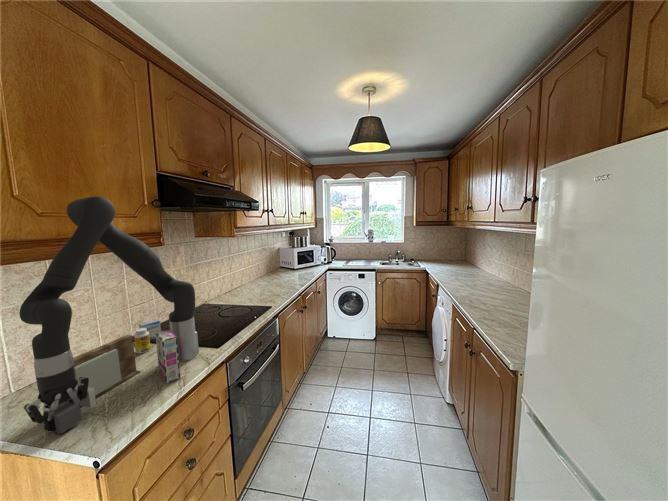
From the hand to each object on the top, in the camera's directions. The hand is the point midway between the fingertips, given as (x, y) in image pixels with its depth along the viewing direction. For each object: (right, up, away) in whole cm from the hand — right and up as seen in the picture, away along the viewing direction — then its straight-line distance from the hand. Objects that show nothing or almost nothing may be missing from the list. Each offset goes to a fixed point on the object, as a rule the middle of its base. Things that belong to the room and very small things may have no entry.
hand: (63, 423), depth 78 cm
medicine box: (-14, +5, +58) cm, 59 cm away
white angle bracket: (+1, +1, +13) cm, 13 cm away
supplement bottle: (-9, +4, +45) cm, 46 cm away
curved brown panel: (-3, 0, +16) cm, 16 cm away
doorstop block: (0, -1, 0) cm, 1 cm away
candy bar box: (+15, +2, +25) cm, 30 cm away
